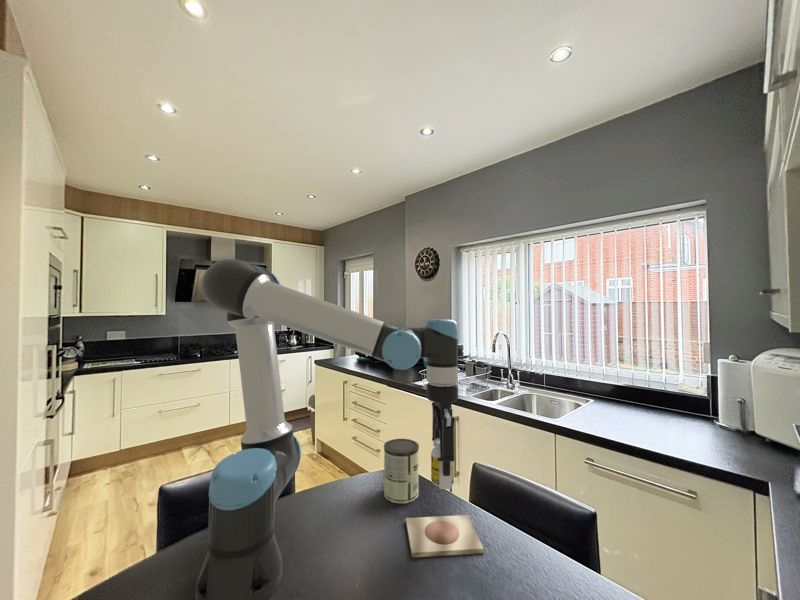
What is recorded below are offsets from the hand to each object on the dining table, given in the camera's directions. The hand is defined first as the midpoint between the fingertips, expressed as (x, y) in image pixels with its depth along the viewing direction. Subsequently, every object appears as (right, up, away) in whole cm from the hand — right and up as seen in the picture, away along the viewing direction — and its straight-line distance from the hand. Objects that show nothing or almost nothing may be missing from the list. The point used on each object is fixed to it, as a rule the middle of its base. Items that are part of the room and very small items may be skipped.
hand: (442, 481), depth 77 cm
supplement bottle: (0, -1, 0) cm, 1 cm away
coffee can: (-10, -14, +18) cm, 24 cm away
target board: (0, -13, -1) cm, 13 cm away
